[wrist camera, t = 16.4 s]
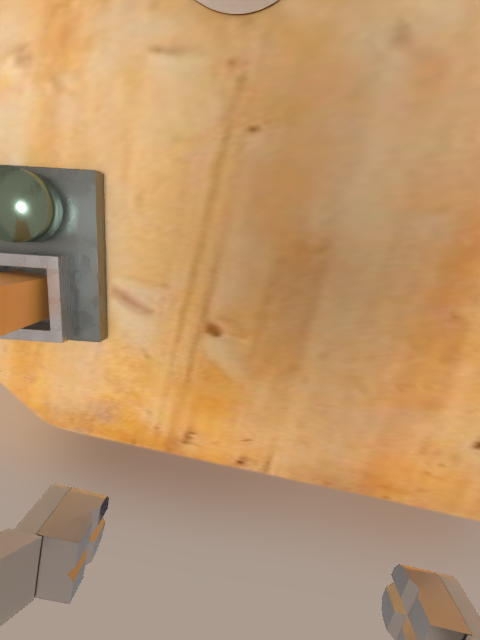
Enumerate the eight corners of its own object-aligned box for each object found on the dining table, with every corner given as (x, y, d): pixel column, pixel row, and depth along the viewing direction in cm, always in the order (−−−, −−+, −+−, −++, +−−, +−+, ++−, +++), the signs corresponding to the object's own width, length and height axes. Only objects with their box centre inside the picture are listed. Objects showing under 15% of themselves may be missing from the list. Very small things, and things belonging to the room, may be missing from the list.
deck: (-26, 166, 38) (-68, 155, 33) (103, 174, 37) (80, 164, 32) (-9, 328, 42) (-45, 340, 37) (107, 337, 41) (87, 350, 36)
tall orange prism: (15, 270, 38) (-68, 280, 28) (55, 276, 38) (-14, 288, 28) (15, 309, 39) (-65, 333, 29) (54, 315, 39) (-13, 341, 29)
